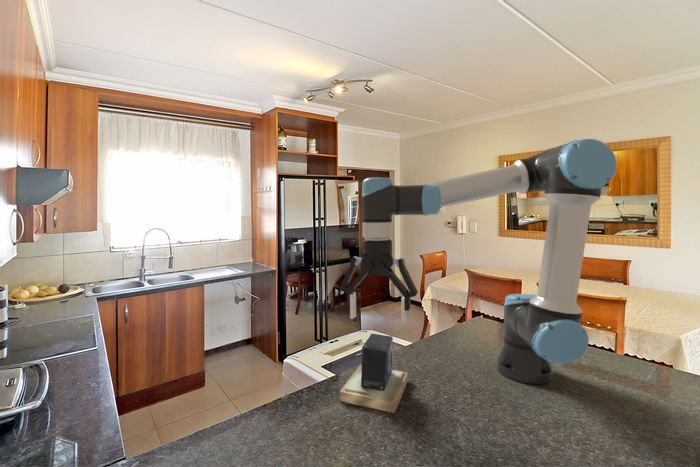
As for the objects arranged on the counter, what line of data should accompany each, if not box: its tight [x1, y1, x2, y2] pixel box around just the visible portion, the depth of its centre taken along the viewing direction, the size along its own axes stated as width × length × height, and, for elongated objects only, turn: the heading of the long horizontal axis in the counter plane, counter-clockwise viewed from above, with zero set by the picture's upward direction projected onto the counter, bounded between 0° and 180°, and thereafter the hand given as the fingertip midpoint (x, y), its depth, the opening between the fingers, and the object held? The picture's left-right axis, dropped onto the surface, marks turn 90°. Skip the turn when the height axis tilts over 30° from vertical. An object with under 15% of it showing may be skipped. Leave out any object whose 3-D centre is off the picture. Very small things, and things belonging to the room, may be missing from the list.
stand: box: [339, 364, 409, 414], centre depth 92 cm, size 14×16×3 cm
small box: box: [361, 333, 394, 391], centre depth 91 cm, size 11×6×10 cm, turn 163°
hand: (377, 320), depth 91 cm, fingers open, 13 cm apart
